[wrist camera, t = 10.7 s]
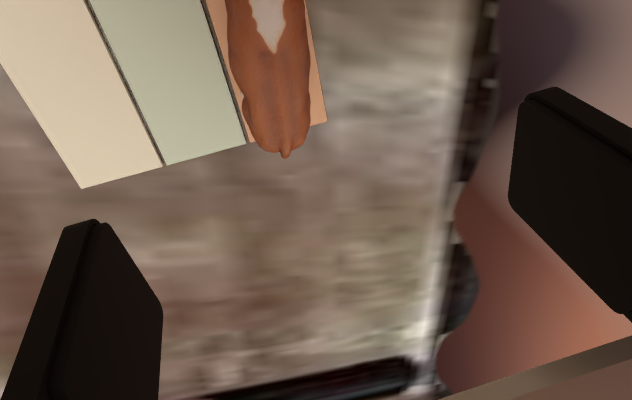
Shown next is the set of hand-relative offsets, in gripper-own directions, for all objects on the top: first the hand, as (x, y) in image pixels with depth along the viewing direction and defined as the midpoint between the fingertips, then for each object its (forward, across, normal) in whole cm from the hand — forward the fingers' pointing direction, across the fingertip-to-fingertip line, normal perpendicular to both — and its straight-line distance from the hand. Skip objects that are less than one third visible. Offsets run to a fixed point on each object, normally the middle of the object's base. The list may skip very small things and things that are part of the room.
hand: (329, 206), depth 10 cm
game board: (+20, +5, +1) cm, 21 cm away
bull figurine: (+20, -1, 0) cm, 20 cm away
